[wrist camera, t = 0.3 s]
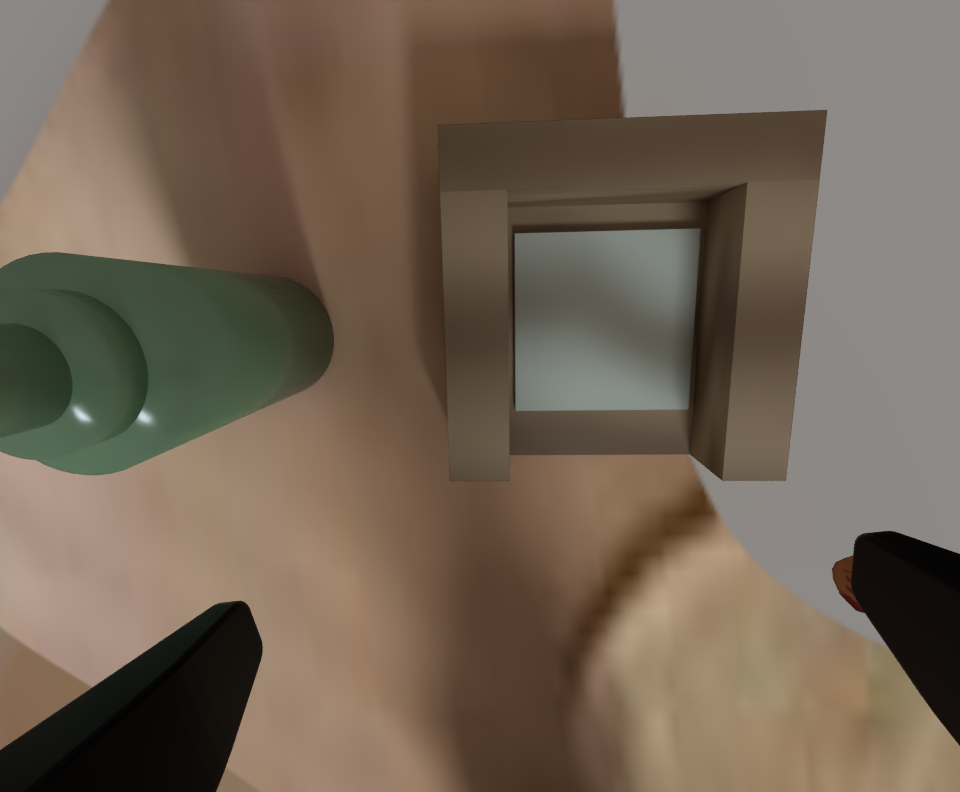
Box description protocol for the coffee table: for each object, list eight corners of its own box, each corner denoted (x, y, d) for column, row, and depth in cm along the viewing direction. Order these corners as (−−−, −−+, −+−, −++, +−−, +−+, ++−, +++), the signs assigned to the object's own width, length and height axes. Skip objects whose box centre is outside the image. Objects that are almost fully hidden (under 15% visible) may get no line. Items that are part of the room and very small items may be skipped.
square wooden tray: (732, 446, 21) (785, 480, 17) (459, 448, 21) (449, 480, 17) (758, 150, 18) (827, 109, 14) (451, 161, 19) (437, 125, 15)
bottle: (341, 391, 21) (-28, 595, 6) (229, 399, 21) (-368, 612, 7) (324, 271, 20) (-159, 187, 5) (207, 281, 20) (-551, 230, 6)
